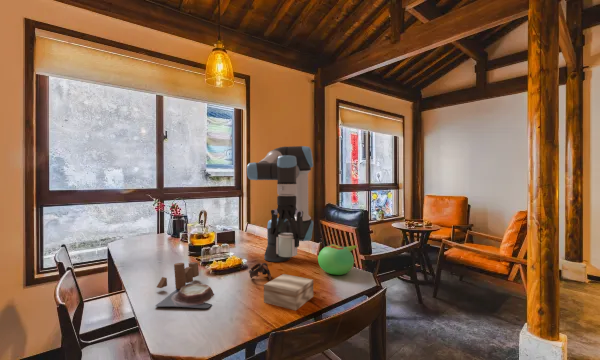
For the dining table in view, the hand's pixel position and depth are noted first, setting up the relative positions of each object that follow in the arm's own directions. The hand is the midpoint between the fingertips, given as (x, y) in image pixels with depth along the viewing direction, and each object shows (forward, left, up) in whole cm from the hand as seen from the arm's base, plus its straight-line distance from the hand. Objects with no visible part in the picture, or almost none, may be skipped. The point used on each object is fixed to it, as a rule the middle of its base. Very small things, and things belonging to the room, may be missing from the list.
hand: (286, 254), depth 112 cm
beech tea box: (0, +1, -18) cm, 18 cm away
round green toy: (-38, +6, -18) cm, 42 cm away
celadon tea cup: (0, 0, 0) cm, 0 cm away
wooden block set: (+10, -47, -18) cm, 52 cm away
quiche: (+16, -34, -19) cm, 42 cm away
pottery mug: (-15, -21, -18) cm, 32 cm away
